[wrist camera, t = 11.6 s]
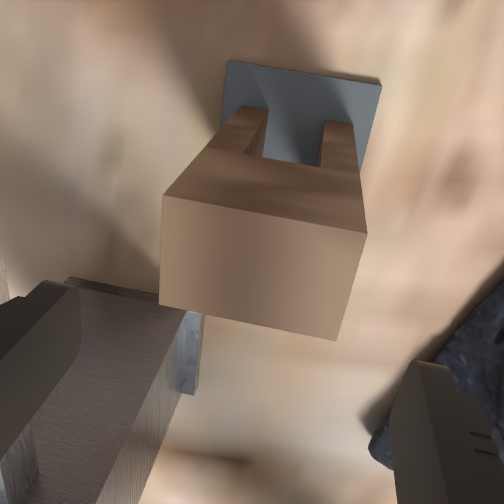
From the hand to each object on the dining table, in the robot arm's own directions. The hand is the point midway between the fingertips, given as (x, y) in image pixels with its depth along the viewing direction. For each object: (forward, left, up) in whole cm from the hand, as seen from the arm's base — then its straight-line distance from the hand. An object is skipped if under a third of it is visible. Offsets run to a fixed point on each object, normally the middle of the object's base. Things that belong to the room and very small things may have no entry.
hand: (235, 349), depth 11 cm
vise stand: (+12, +10, -17) cm, 23 cm away
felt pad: (0, 0, -17) cm, 17 cm away
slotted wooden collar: (0, 0, -17) cm, 17 cm away
